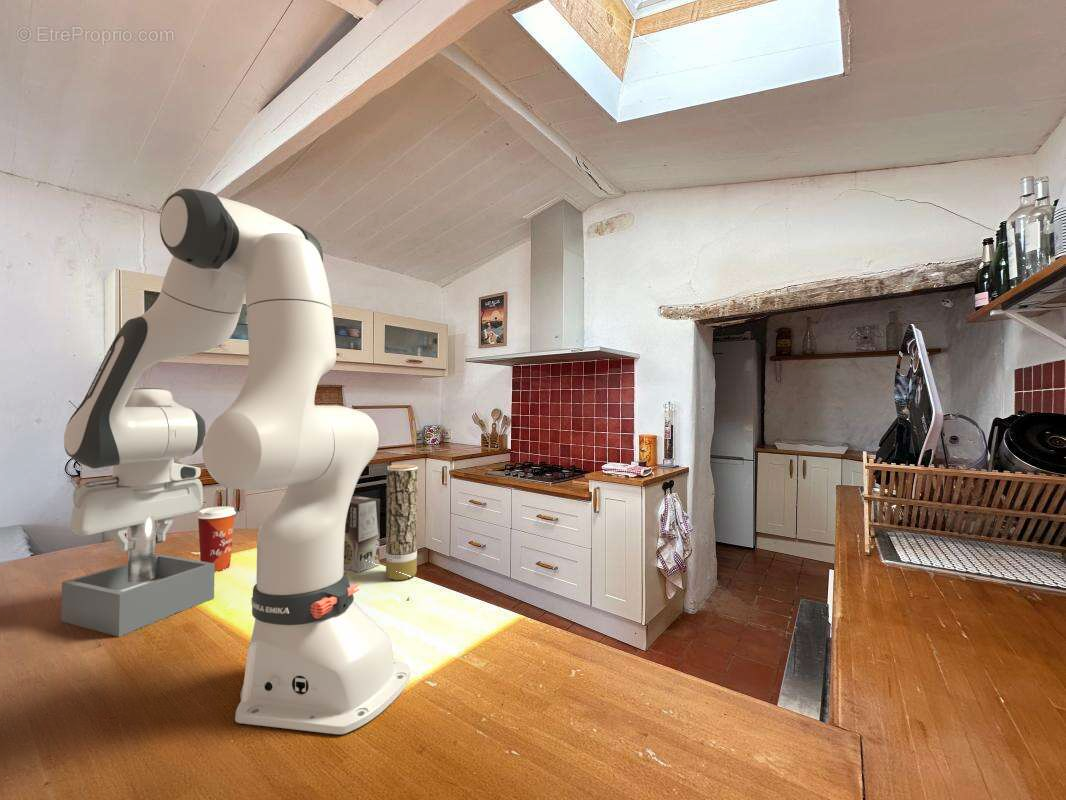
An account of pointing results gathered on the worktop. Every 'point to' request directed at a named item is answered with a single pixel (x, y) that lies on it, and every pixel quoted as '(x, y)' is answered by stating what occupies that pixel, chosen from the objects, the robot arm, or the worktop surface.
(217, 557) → the paper cup
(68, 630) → the worktop surface
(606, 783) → the worktop surface
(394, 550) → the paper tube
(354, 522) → the coffee box
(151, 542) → the peg
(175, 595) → the box
